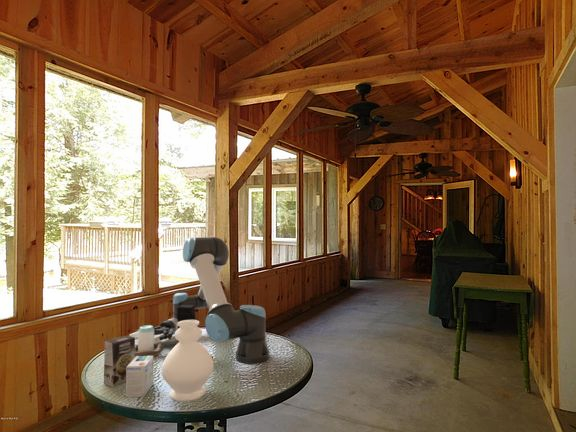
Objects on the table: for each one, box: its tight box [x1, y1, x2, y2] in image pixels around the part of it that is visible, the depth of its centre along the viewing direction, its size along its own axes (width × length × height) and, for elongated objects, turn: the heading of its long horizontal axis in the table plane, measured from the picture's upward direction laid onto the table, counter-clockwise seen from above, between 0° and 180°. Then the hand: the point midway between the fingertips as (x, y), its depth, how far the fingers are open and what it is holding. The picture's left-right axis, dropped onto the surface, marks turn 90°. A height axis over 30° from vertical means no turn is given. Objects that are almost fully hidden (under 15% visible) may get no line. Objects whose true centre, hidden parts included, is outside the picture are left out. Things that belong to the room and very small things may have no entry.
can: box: [137, 324, 155, 352], centre depth 174 cm, size 7×7×12 cm
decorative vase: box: [161, 320, 214, 402], centre depth 132 cm, size 18×18×25 cm
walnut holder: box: [135, 343, 162, 357], centre depth 174 cm, size 12×12×2 cm
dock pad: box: [157, 335, 177, 347], centre depth 190 cm, size 12×12×1 cm
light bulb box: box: [125, 356, 154, 398], centre depth 134 cm, size 11×7×11 cm, turn 5°
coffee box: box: [103, 335, 136, 388], centre depth 142 cm, size 9×6×16 cm
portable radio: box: [176, 304, 197, 345], centre depth 171 cm, size 8×6×25 cm
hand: (141, 339), depth 171 cm, fingers open, 13 cm apart
